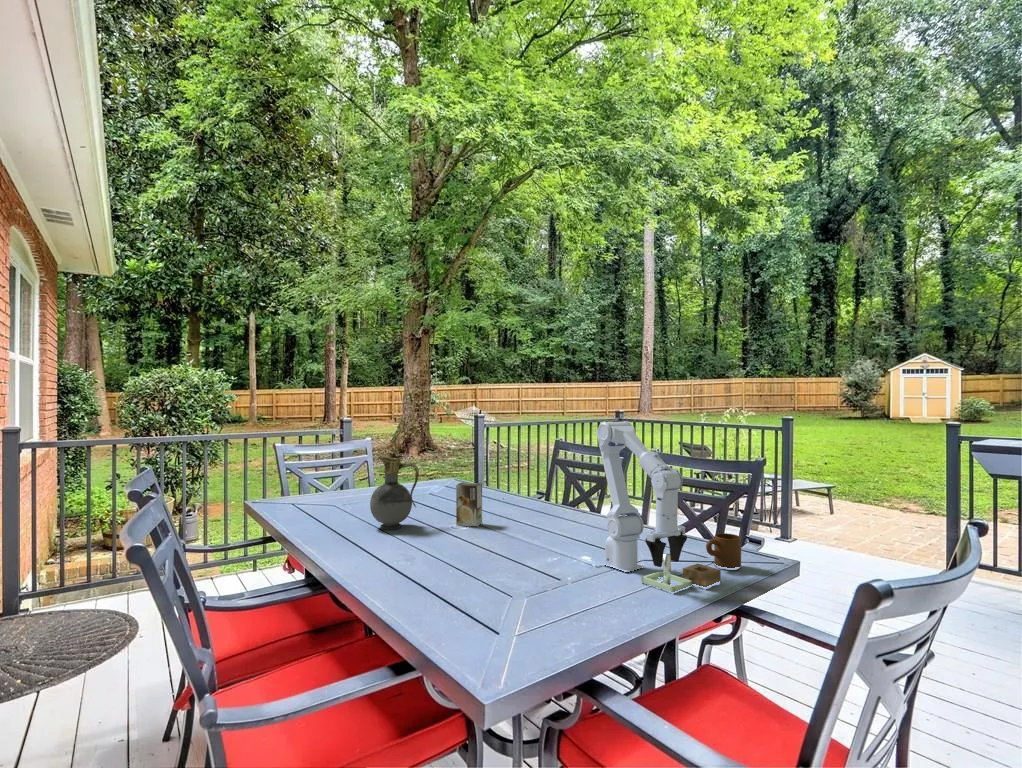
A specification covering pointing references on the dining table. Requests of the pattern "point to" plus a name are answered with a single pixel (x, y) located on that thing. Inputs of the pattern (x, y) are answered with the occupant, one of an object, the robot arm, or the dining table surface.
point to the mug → (725, 550)
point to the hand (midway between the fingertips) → (666, 563)
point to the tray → (653, 581)
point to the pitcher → (392, 493)
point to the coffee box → (468, 504)
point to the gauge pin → (667, 568)
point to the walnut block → (702, 575)
